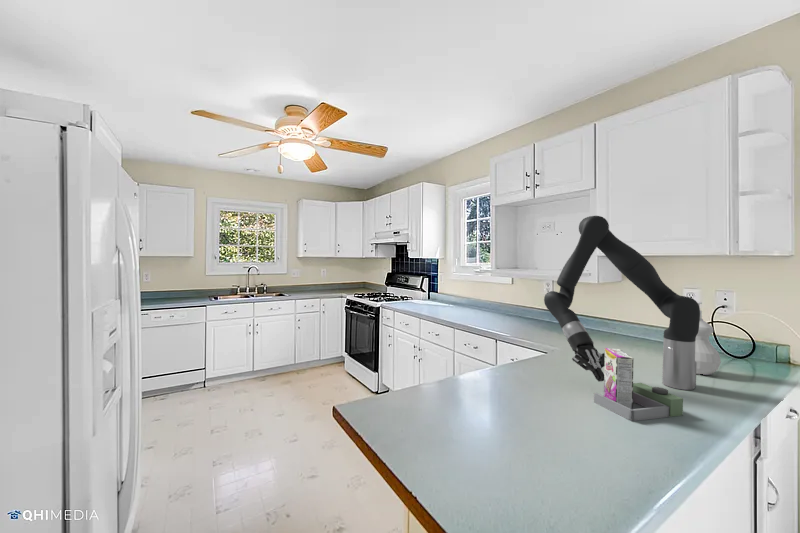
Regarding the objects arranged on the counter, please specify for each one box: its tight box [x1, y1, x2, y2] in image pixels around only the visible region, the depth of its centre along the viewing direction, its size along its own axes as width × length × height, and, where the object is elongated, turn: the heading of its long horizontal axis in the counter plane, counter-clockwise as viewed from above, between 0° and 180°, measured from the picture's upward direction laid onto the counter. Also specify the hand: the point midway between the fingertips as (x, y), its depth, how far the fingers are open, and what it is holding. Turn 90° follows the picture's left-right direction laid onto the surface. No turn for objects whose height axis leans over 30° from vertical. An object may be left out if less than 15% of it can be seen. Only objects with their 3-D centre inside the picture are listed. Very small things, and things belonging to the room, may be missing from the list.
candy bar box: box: [603, 347, 635, 409], centre depth 112 cm, size 11×5×16 cm, turn 167°
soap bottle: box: [695, 301, 722, 376], centre depth 147 cm, size 17×12×29 cm
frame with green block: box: [593, 382, 684, 422], centre depth 109 cm, size 19×14×6 cm
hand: (602, 380), depth 119 cm, fingers closed
